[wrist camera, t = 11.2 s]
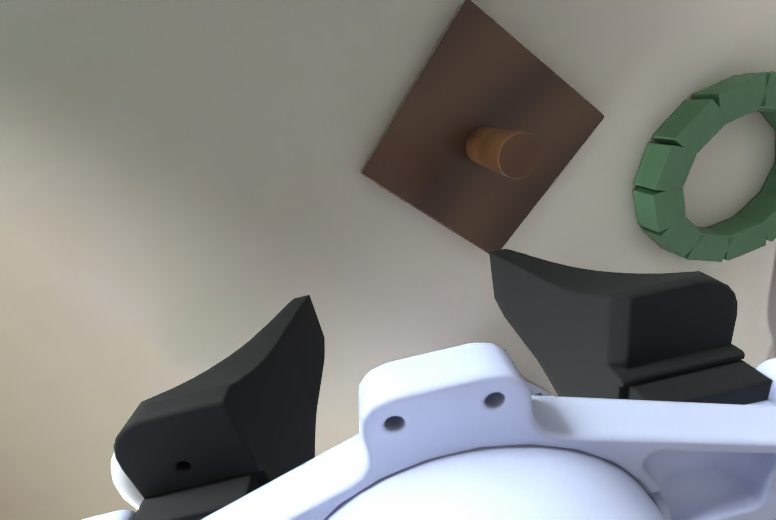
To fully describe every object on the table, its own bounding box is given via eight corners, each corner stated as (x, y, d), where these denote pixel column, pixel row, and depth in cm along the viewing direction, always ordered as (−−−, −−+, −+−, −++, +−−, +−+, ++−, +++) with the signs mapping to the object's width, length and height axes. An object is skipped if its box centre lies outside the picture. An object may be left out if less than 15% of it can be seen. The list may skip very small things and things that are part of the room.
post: (594, 115, 21) (679, 118, 16) (489, 251, 24) (529, 294, 19) (461, 2, 18) (507, -43, 13) (360, 171, 21) (362, 193, 16)
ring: (781, 27, 20) (819, 20, 19) (822, 182, 24) (856, 188, 23) (603, 160, 22) (623, 164, 21) (668, 282, 26) (689, 294, 25)
